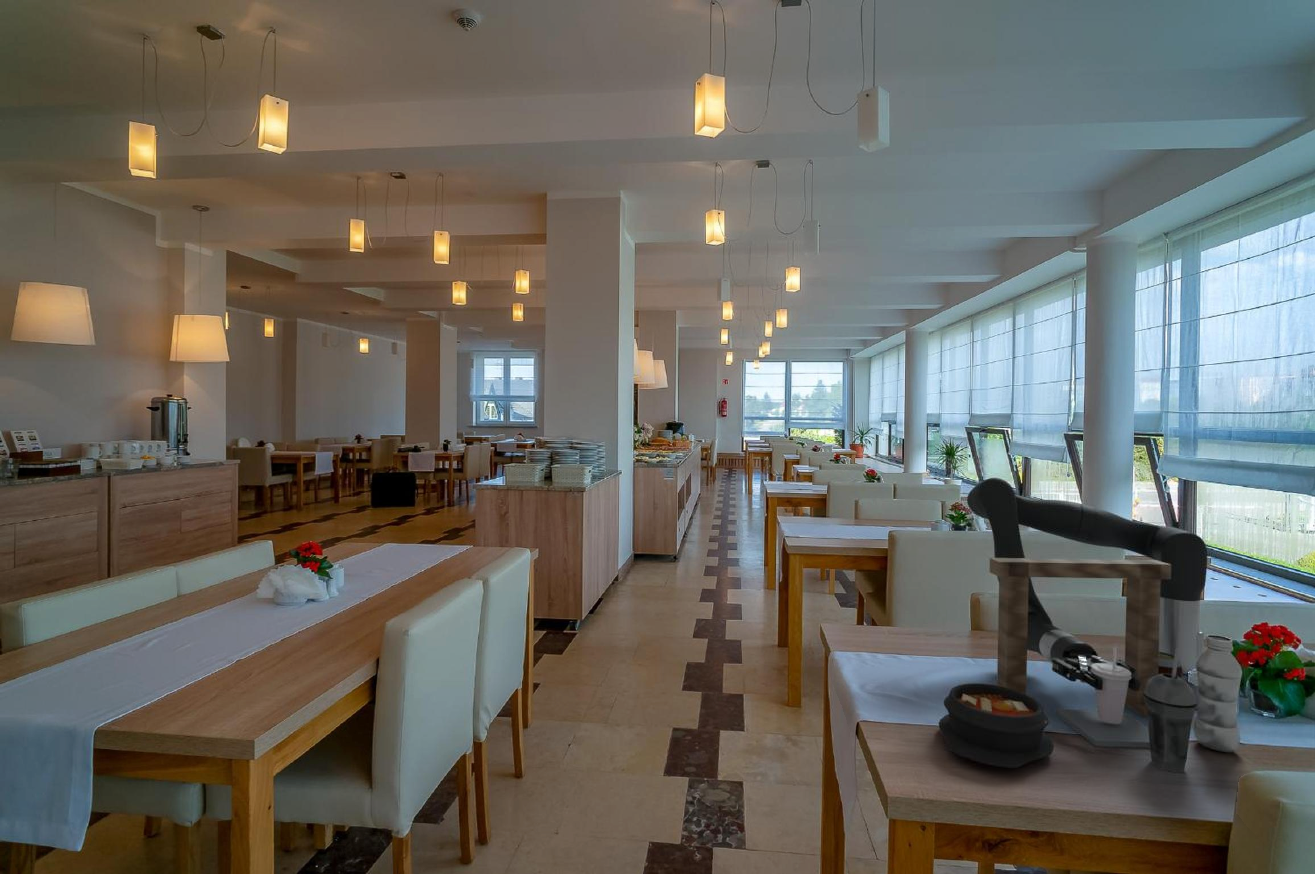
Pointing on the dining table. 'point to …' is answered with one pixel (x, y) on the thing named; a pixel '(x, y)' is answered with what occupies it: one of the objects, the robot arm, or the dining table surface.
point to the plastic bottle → (1218, 696)
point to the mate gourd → (1168, 664)
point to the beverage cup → (1169, 719)
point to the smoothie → (1111, 690)
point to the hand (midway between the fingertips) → (1118, 685)
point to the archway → (1137, 572)
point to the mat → (1106, 729)
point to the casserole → (995, 725)
